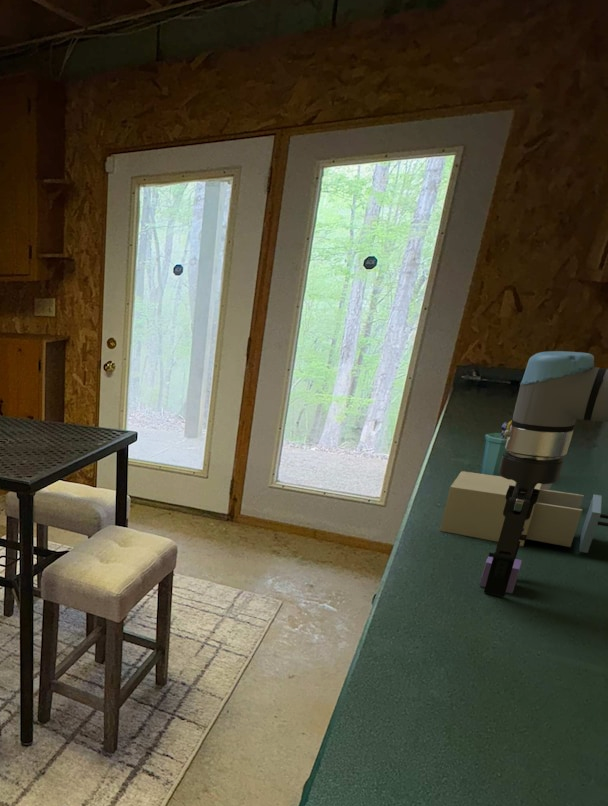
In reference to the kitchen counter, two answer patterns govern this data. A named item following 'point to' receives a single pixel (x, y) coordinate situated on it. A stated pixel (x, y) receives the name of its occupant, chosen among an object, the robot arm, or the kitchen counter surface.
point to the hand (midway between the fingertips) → (497, 583)
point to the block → (512, 577)
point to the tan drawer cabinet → (478, 506)
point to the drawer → (564, 519)
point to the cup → (494, 451)
